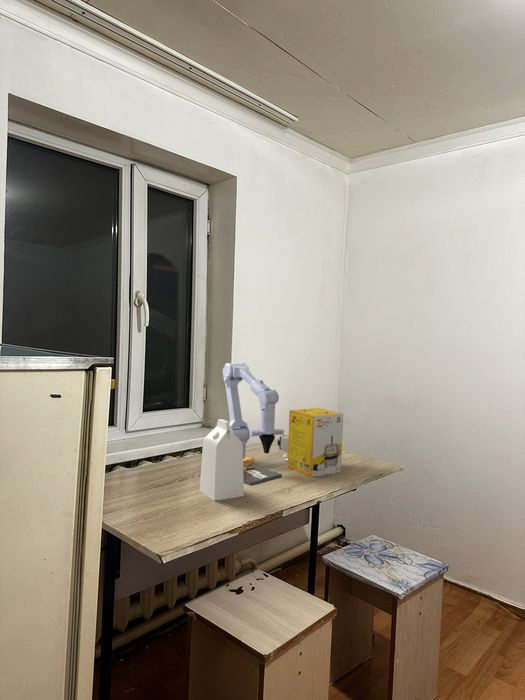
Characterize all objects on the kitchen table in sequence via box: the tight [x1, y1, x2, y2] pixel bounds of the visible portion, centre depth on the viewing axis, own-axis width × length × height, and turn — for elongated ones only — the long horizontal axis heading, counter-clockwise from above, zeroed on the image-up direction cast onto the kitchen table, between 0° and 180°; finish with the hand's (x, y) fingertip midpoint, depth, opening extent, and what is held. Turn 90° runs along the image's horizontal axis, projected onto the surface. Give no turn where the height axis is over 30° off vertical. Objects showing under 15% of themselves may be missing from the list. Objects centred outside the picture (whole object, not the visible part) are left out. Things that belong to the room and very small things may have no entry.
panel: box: [243, 463, 283, 486], centre depth 192 cm, size 20×18×2 cm
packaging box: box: [286, 407, 344, 478], centre depth 202 cm, size 16×16×25 cm
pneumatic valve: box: [276, 434, 288, 462], centre depth 216 cm, size 6×12×12 cm, turn 51°
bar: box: [243, 456, 255, 467], centre depth 194 cm, size 16×4×3 cm, turn 145°
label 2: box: [253, 474, 268, 479], centre depth 186 cm, size 5×4×1 cm
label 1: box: [246, 470, 261, 475], centre depth 191 cm, size 5×4×1 cm
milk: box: [198, 418, 245, 502], centre depth 168 cm, size 12×12×26 cm
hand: (266, 452), depth 193 cm, fingers closed
